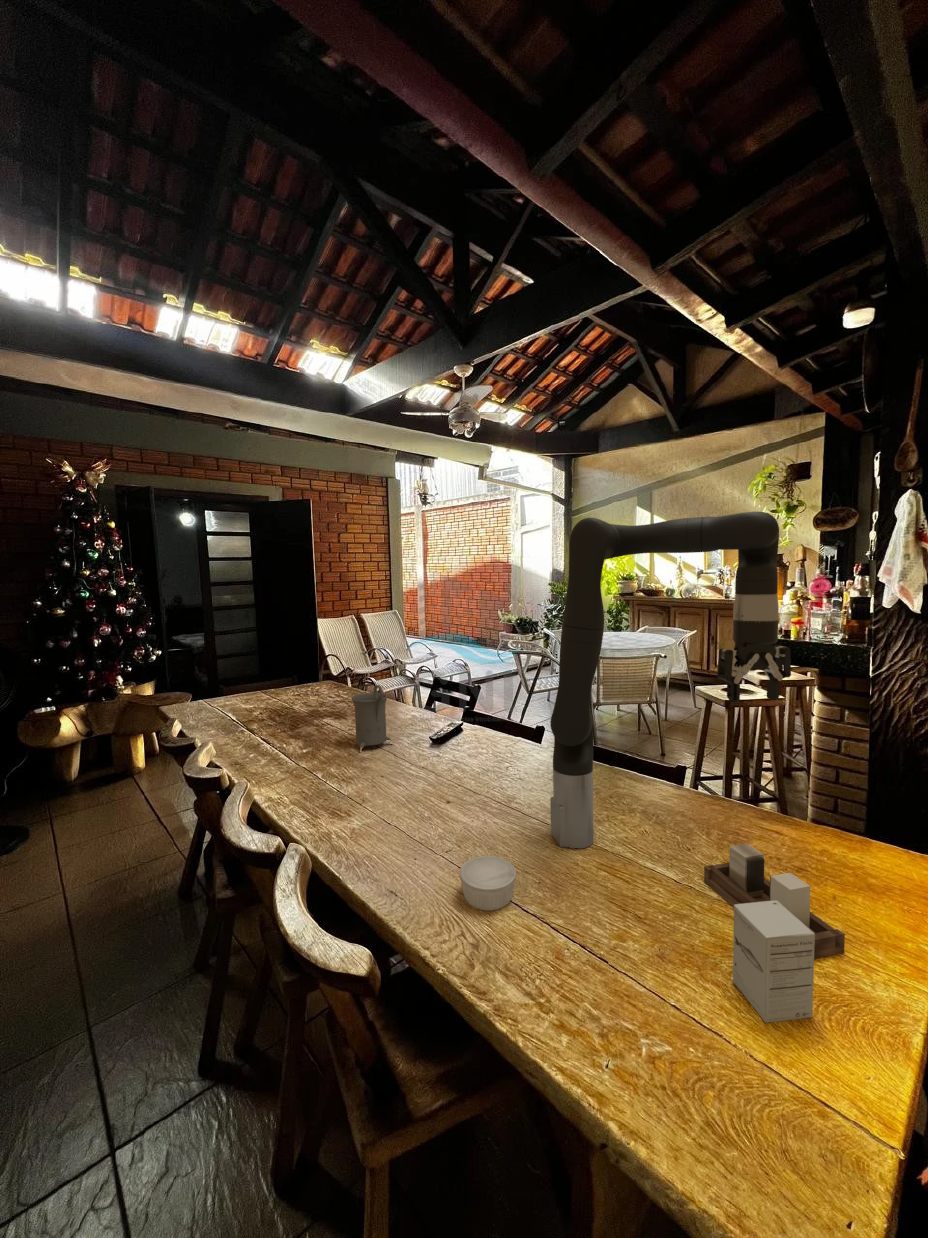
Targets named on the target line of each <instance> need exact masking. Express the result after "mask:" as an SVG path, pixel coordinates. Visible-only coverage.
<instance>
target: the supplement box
mask: <svg viewBox="0 0 928 1238" xmlns="http://www.w3.org/2000/svg"><path fill="white" fill-rule="evenodd" d="M732 940H733V943H732V945H733V946H732V947H733V948H732V952H733V953H732V983H733V984H734V985H735V986H736V987H737V988H738V990H739V991H740V992H741V993H742V994H743V996H744V997H745V998H746V999H747V1001H748V1002H749V1003H750V1004H751V1006H752V1008H754V1010H755V1011H756V1012H757V1013H758V1015H759V1016H760V1018H761V1019H762V1020H763V1022H764V1023H775V1022H776V1023H777V1022H785V1021H794V1020H803V1019H810V1018H813V1006H814V1001H813V1000H814V972H815V971H814V969H815V966H814V965H815V959H814V944H815V934H814V932H812V931H811V930H810V929H809V928H808V927H807V926H806V925H804V924H803V923H802V922H801V921H800V920H799V919H798V918H796V917H795V916H794V915H793V914H792V913H791V912H790V911H788V910H787V909H786V908H785V907H784V906H783V905H782V904H781V903H779V902H778V901H763V902H754V903H744V904H735V905H734V907H733V938H732Z"/></svg>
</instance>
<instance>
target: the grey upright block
mask: <svg viewBox="0 0 928 1238" xmlns="http://www.w3.org/2000/svg"><path fill="white" fill-rule="evenodd" d="M769 882H770V895H769V901H778V902H779V903H781V904H782V905H783V906H784V907H785V908H786V909H787V910H788V911H790V912H791V913H792V914H793V915H794V916H795V917H796V918H798V919H799V920H800V921H801V922H802V923H803V924H804V925H806V926H807V927H808V928H809V924H810V912H811V909H810V908H811V885H809V884H808V883H806V882H805V881H803V880H802V879H801V878H799V877H797V876H796V875H794V874H793V873H791V872H785V873H781V874H774V875H769Z"/></svg>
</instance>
